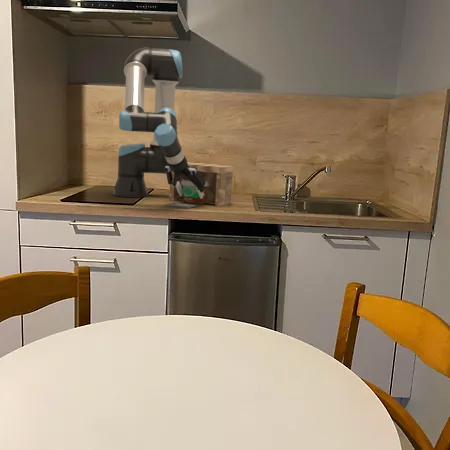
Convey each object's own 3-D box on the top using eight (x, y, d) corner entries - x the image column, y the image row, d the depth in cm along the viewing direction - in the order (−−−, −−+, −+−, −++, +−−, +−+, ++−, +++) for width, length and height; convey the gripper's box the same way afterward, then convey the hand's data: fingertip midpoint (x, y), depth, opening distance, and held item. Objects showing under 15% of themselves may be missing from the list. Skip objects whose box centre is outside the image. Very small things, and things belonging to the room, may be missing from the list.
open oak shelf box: (169, 200, 232) (170, 162, 229) (182, 197, 243) (184, 161, 240) (219, 206, 223) (221, 167, 220) (230, 203, 234) (233, 166, 231)
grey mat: (164, 205, 217) (164, 204, 217) (173, 203, 224) (173, 202, 224) (188, 208, 213) (188, 207, 213) (197, 206, 220) (197, 205, 220)
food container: (175, 203, 224) (176, 179, 222) (181, 201, 230) (182, 178, 228) (201, 206, 220) (203, 182, 218) (207, 204, 225) (208, 181, 224)
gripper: (147, 163, 209) (166, 199, 226) (197, 167, 201) (212, 204, 218) (155, 149, 213) (172, 185, 230) (204, 153, 205) (218, 190, 222)
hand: (191, 195), depth 224 cm, fingers closed on food container, 9 cm apart
